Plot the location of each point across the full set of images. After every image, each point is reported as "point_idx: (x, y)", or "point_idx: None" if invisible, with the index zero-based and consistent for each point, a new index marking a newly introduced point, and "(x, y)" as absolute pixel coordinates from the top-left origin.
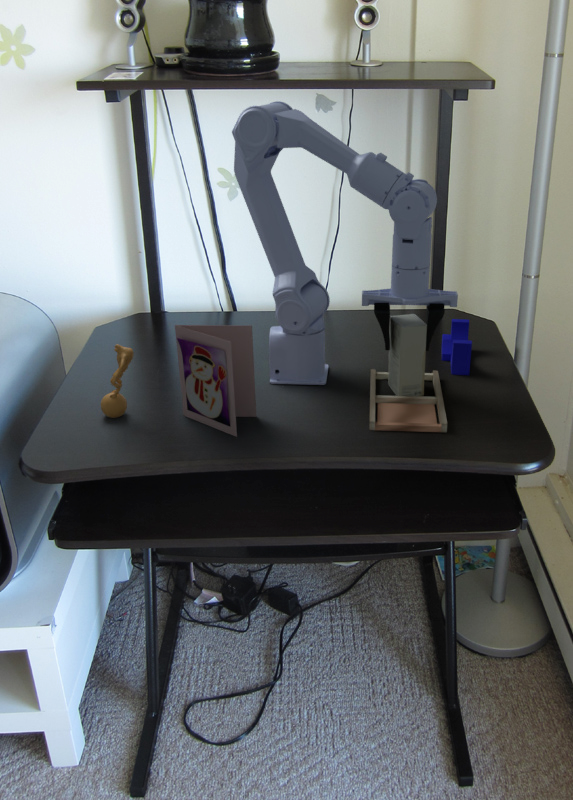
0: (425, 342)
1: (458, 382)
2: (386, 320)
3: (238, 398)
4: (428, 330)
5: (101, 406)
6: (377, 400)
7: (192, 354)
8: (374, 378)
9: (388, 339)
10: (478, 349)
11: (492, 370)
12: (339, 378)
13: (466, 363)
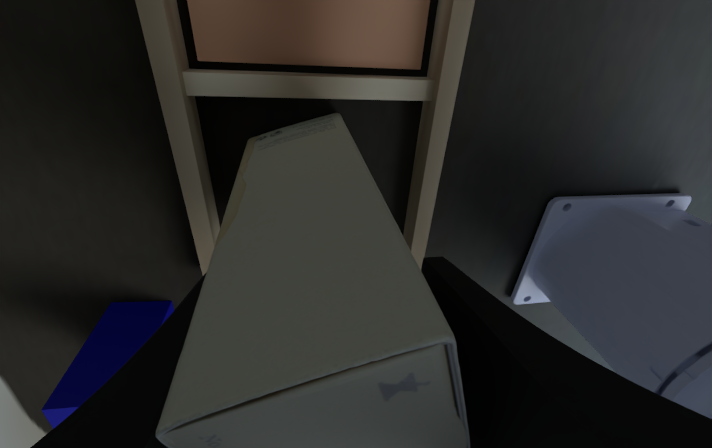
0: (206, 281)
1: (136, 256)
2: (610, 419)
3: None
4: (161, 382)
5: None
6: (422, 78)
7: None
8: (419, 217)
9: (464, 293)
10: None
11: (41, 340)
12: (496, 245)
13: (103, 334)
